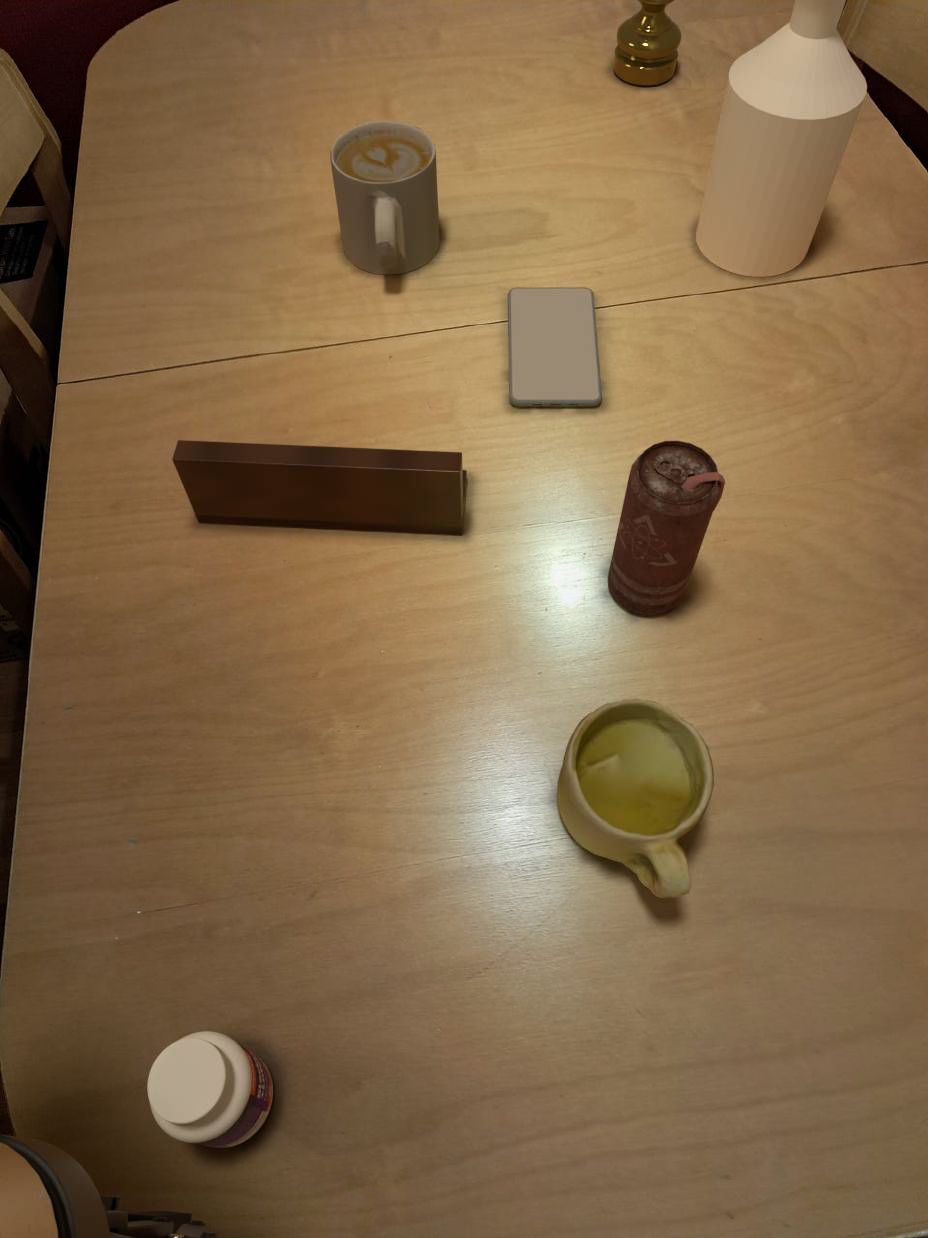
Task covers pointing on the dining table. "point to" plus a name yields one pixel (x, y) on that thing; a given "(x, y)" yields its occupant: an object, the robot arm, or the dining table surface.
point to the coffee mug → (386, 196)
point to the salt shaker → (647, 45)
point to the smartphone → (553, 347)
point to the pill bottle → (209, 1090)
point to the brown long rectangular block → (323, 487)
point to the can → (663, 525)
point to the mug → (636, 789)
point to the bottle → (780, 144)
